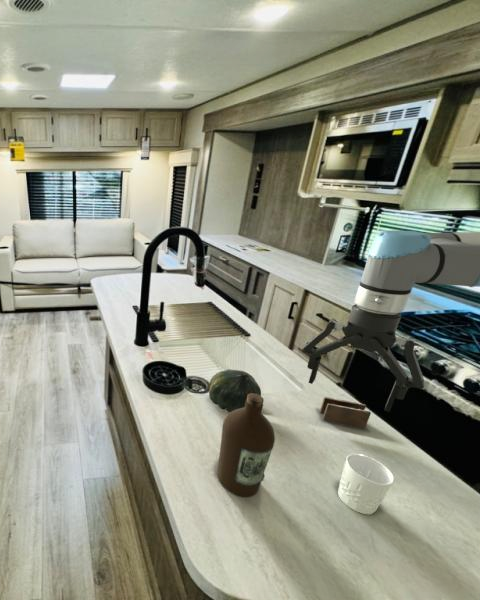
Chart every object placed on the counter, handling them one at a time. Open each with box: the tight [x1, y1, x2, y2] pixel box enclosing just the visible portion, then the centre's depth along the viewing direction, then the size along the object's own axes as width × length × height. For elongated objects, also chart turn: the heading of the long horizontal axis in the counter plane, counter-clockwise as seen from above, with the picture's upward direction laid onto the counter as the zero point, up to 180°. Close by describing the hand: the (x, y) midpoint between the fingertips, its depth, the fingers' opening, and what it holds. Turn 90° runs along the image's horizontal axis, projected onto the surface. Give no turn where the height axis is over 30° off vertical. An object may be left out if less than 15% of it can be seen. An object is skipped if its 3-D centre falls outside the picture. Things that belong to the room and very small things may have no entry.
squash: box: [208, 369, 262, 413], centre depth 100 cm, size 14×15×15 cm
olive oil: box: [216, 393, 276, 498], centre depth 73 cm, size 11×11×25 cm
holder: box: [319, 396, 372, 430], centre depth 93 cm, size 10×5×7 cm, turn 68°
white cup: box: [337, 453, 395, 515], centre depth 70 cm, size 8×8×10 cm
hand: (347, 394), depth 71 cm, fingers open, 13 cm apart
